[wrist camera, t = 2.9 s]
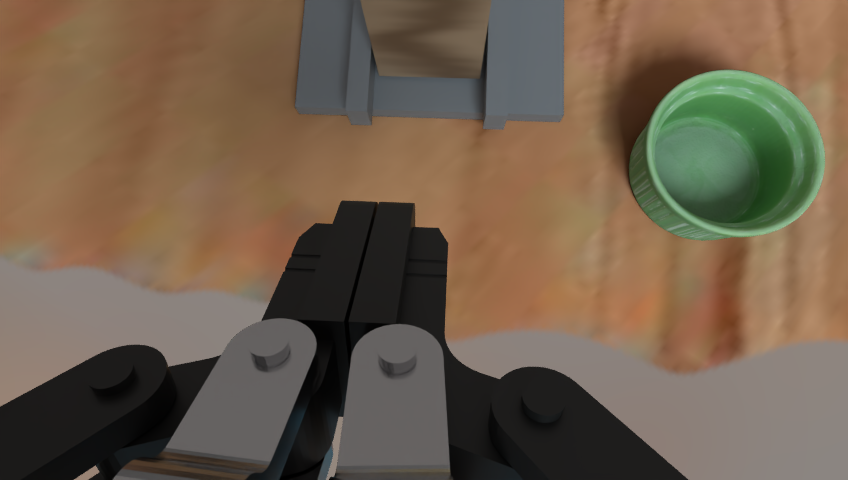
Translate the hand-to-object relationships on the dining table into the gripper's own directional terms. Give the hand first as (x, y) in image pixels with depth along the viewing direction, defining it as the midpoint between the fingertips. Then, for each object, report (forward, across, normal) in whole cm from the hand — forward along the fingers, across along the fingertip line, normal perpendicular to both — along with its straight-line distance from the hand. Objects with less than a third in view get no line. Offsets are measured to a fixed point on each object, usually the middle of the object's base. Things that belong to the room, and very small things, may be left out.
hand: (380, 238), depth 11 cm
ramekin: (+20, -16, +8) cm, 27 cm away
